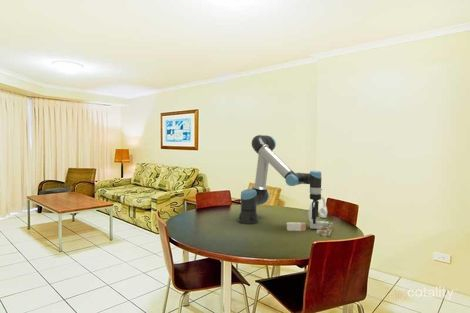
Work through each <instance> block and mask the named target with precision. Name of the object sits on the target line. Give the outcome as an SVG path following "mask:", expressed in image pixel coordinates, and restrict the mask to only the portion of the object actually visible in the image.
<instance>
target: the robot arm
mask: <svg viewBox="0 0 470 313" xmlns="http://www.w3.org/2000/svg"><path fill="white" fill-rule="evenodd" d="M276 143H277V142H276V140H275V138H274V137H273V136H270V135H266V134H265V135H263V134H258V135H255V136H254V137H252V140H251V147H252V149H253V151H254V152H255V153H257V156H258V157H257V164H256V170H255V179H254V180H255V181H254V185H253V186H252V188H247V189H243V190H242V191H241V192H240V212H239V215H238V218H237V219H238V220H237V221H238V223H240V224H244V225H254V224H258V223H259V222H260V218H259V215H258V213H257V206H260V205H263V204H266V203H267V202H268V200H269V198H270V194H269V191H268V187H267V181H268V180H267V179H268V172H269V165H270V166H272V167H273V169H275V171H276V172H277V173H279V174H280V176H281V177H282V178H283V179H285V183H286V185H287V186H290V187H294V186H298V185H309V199H310V200H311V201H312V200H313V202H312V218H311V219H312V228H314V229H315V230H317V229H316V226H317V221H319V220H318V219H319V218H320V215H319V205H320V204H319V203H320V202H319V201H320V200H322V199H321V197H322V194H321V193H322V191H323V188H322V172H321V170H310V171H309V172H307V173H305V172H294V171H293V170H292V169H291V168H290V166H288V165H287V164H286V163H285V162H284V161H283V160H282V159H281V158H280V156H278V155H277V154H276V153H275V152H274V149H275V148H276V145H277V144H276ZM312 228H311V229H312Z"/></svg>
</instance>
